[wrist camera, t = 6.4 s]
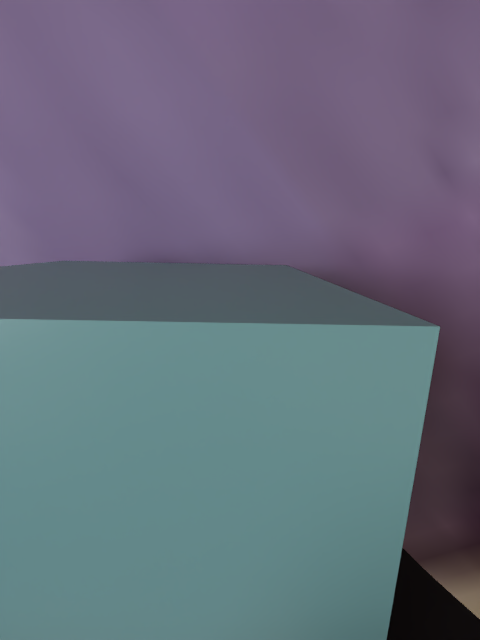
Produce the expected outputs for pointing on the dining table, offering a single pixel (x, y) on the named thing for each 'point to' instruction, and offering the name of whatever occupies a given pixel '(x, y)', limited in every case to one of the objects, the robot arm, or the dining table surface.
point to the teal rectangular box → (203, 452)
